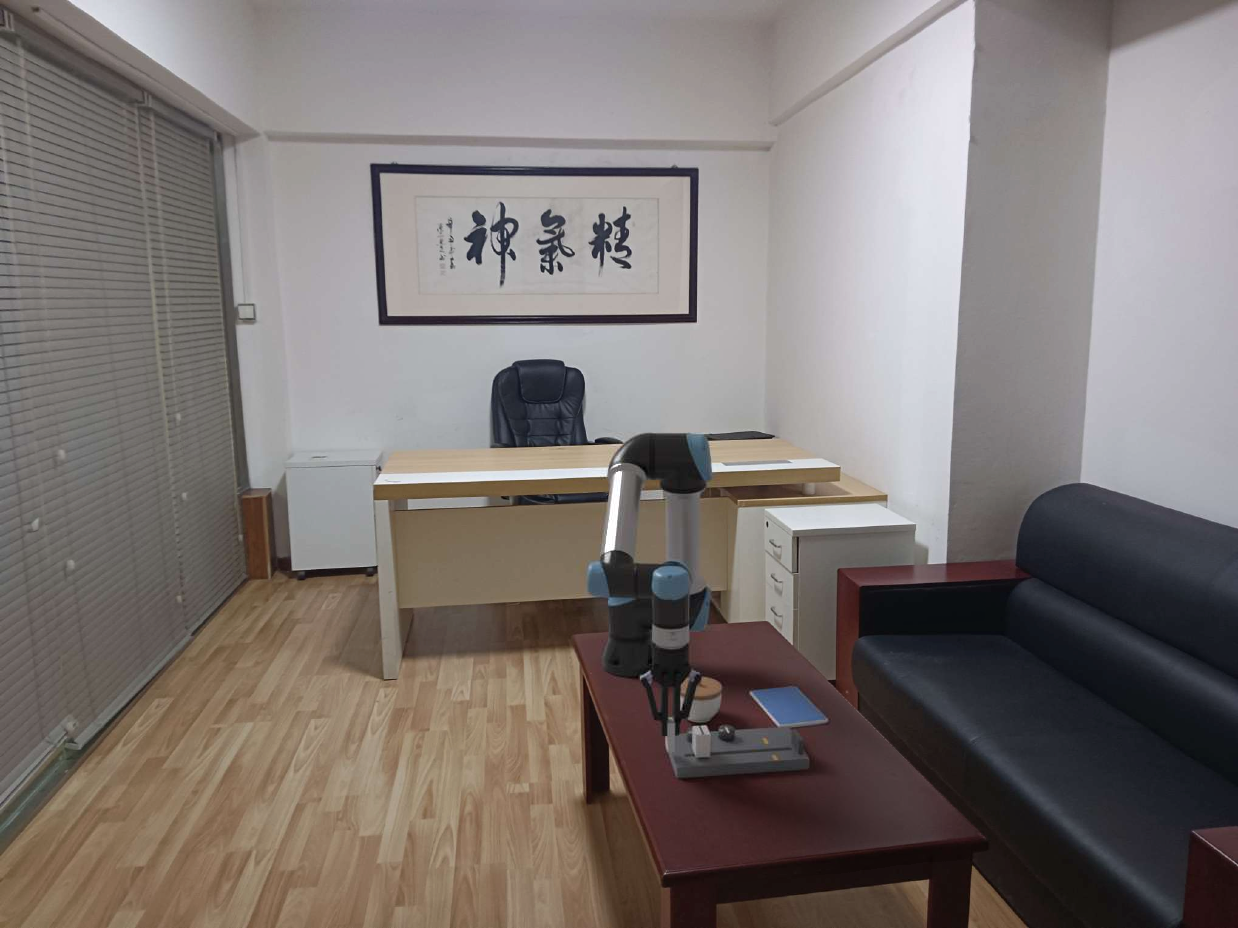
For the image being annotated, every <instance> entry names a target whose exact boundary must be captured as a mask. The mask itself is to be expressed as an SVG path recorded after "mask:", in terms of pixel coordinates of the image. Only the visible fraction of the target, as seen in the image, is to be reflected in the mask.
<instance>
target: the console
mask: <svg viewBox="0 0 1238 928" xmlns="http://www.w3.org/2000/svg"><path fill="white" fill-rule="evenodd" d="M709 732H710V734H711V736H710V757H699V758H696V756H695V754H694V751H693V749H692V726H691V727H688V728H687V729H686V732H685V733H684V732H683V733H680V734H679V735H677V736H675V752H671V753H668V752H667V753H668V756H669V760H670V763H671V765H672V768H673V772H674V774H675V777H676V779H685V778H700V777H701V778H702V777H714V776H715V777H716V776H726V775H727V776H729V775H743V774H757V773H774V772H787V771H802V770H810V757H809V756H808V753H806V751H805V750H804V739H803V738H802V736H801V735H800V733H799V732H798V730H797V729H792V728H790V727H778V726H777V727H761V728H747V729H746V728H745V729H736V728H735V727H734V726H732V725H729V724H722V725H720V726H719V727H718V729H717V731H714V730H713V731H709ZM664 738H665V739H664V740H665V746H666V736H664Z"/></svg>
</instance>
